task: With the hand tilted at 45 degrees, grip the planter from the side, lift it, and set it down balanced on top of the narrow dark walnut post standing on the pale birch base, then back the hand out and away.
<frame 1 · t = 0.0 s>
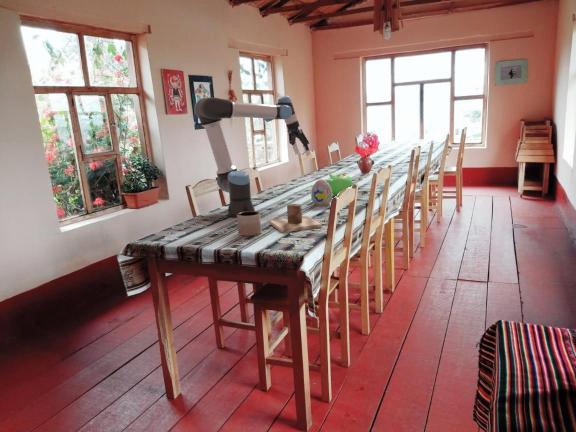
hand: (303, 154, 282), 28 cm above the table, tool tilted 20°, fingers open, 13 cm apart
planter: (250, 233, 214), on the table
decorative egg: (321, 204, 269), on the table
balance post: (295, 225, 225), on the table
toy bird: (340, 196, 292), on the table
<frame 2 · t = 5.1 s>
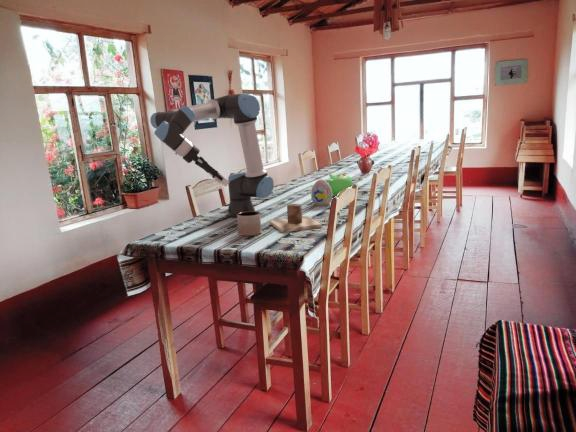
hand: (224, 182, 205), 25 cm above the table, tool tilted 45°, fingers open, 13 cm apart
nothing on the table moved.
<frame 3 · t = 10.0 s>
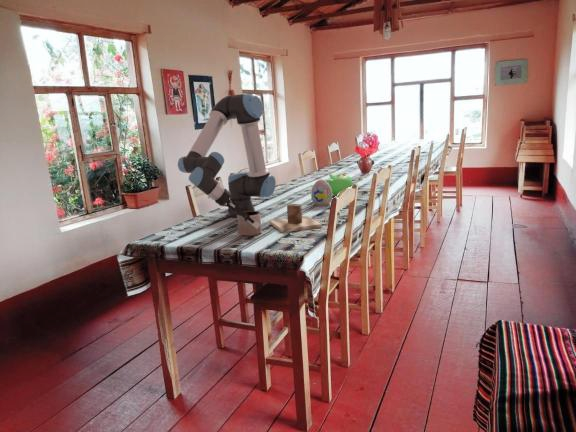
hand: (255, 223, 214), 4 cm above the table, tool tilted 45°, fingers closed on planter, 11 cm apart
planter: (250, 233, 214), on the table, touching gripper
everything else where it was.
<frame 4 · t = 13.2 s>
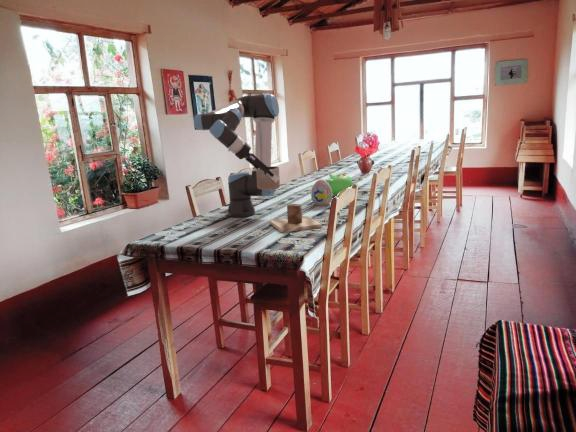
hand: (274, 178, 216), 24 cm above the table, tool tilted 45°, fingers closed on planter, 11 cm apart
planter: (268, 188, 216), point 19 cm above the table, touching gripper
everything else where it was.
when the fingers open (15 cm above the table, at t = 16.4 s): planter stays where it is, resting on balance post.
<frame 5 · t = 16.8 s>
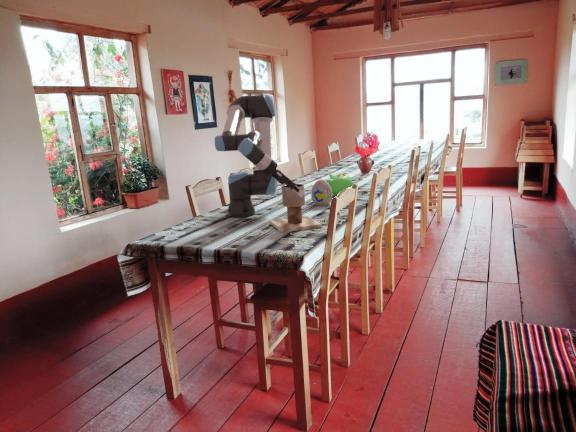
hand: (298, 193, 222), 16 cm above the table, tool tilted 45°, fingers open, 13 cm apart
planter: (293, 205, 222), point 10 cm above the table, touching balance post
everything else where it was.
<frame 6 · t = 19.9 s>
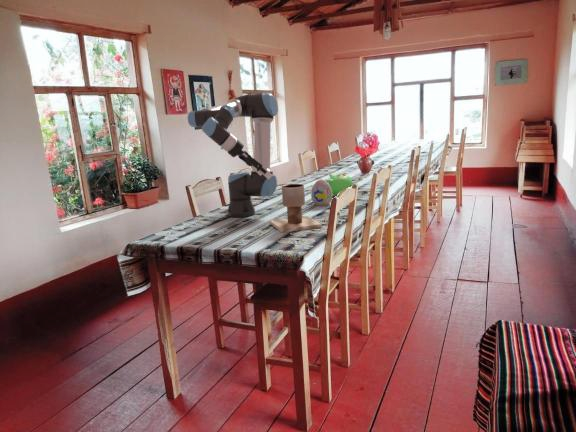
hand: (266, 175, 214), 26 cm above the table, tool tilted 45°, fingers open, 13 cm apart
nothing on the table moved.
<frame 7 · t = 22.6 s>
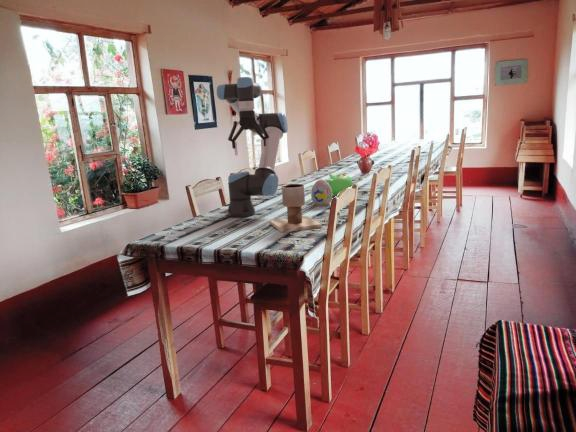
hand: (249, 154, 227), 35 cm above the table, tool pointing down, fingers open, 13 cm apart
nothing on the table moved.
at the end: planter 0.1 cm off-centre on the balance post, point 9.8 cm above the balance post's base; planter tilted 0°; the gripper is holding nothing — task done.
